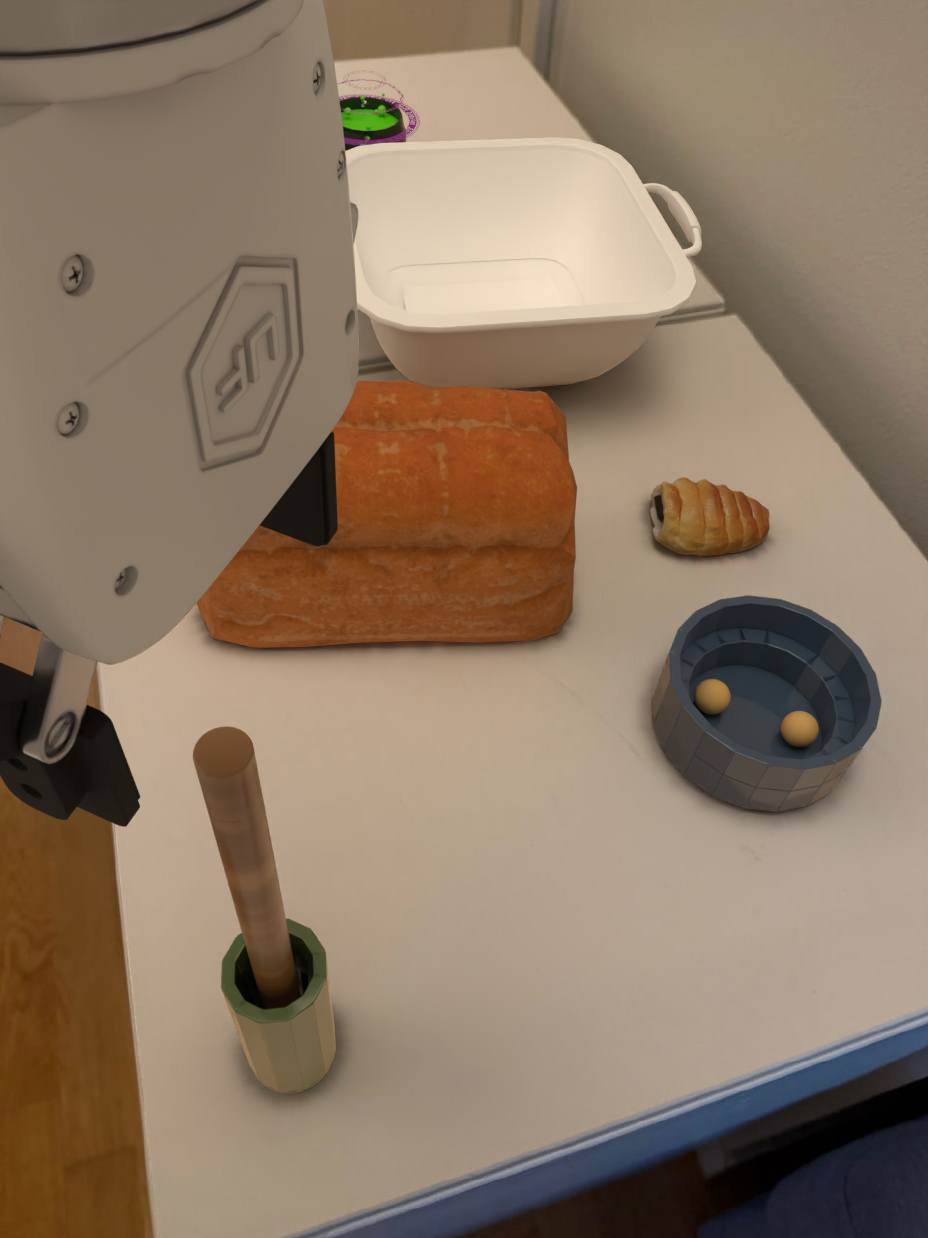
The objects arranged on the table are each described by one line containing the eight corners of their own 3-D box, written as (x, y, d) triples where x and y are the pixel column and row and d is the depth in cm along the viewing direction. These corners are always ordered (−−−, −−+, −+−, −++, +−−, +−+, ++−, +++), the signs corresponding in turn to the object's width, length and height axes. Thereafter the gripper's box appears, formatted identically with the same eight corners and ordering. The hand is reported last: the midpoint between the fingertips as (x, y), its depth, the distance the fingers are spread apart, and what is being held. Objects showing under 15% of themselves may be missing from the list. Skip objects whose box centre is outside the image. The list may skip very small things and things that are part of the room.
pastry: (756, 503, 83) (770, 468, 80) (772, 564, 79) (788, 531, 76) (643, 498, 82) (653, 463, 79) (654, 560, 78) (665, 526, 75)
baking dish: (619, 249, 106) (644, 128, 96) (713, 426, 88) (755, 301, 79) (292, 267, 100) (282, 139, 90) (325, 461, 83) (317, 330, 73)
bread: (577, 647, 72) (615, 496, 60) (197, 656, 70) (159, 500, 58) (552, 508, 81) (580, 352, 69) (213, 512, 78) (183, 350, 66)
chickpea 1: (720, 726, 68) (730, 706, 66) (686, 713, 68) (695, 693, 67) (728, 699, 69) (738, 679, 68) (695, 687, 70) (703, 667, 68)
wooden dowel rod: (295, 1074, 53) (228, 794, 29) (265, 1059, 53) (174, 771, 30) (317, 1031, 54) (269, 731, 31) (288, 1017, 54) (218, 710, 31)
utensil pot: (310, 1109, 52) (294, 1040, 43) (232, 1071, 53) (200, 995, 44) (350, 1025, 55) (344, 943, 45) (276, 990, 56) (255, 903, 46)
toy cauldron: (297, 149, 114) (290, 46, 106) (428, 151, 116) (432, 49, 108) (297, 219, 105) (289, 112, 97) (439, 220, 107) (444, 115, 98)
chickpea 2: (808, 759, 67) (820, 739, 65) (772, 745, 67) (783, 726, 65) (814, 731, 68) (826, 711, 66) (779, 718, 69) (791, 698, 67)
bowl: (827, 847, 63) (863, 801, 59) (626, 768, 66) (644, 718, 61) (860, 689, 71) (894, 637, 67) (679, 624, 74) (699, 570, 69)
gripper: (-350, 271, 7) (119, 1013, 21) (515, -225, 17) (453, 486, 31) (-1012, 27, 9) (-172, 868, 22) (145, -299, 19) (240, 410, 32)
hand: (193, 645), depth 26 cm, fingers open, 9 cm apart
